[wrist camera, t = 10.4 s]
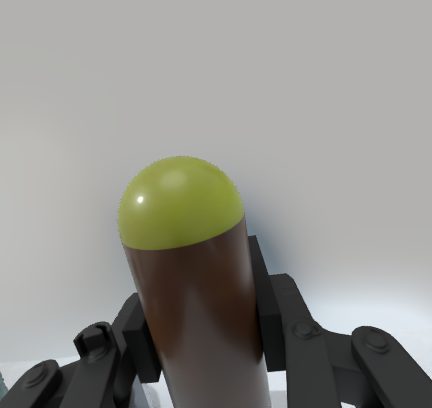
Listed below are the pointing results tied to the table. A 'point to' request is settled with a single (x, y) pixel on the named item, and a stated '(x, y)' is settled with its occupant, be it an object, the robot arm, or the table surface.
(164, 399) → the table surface
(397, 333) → the table surface
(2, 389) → the grey-green cup
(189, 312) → the peg
